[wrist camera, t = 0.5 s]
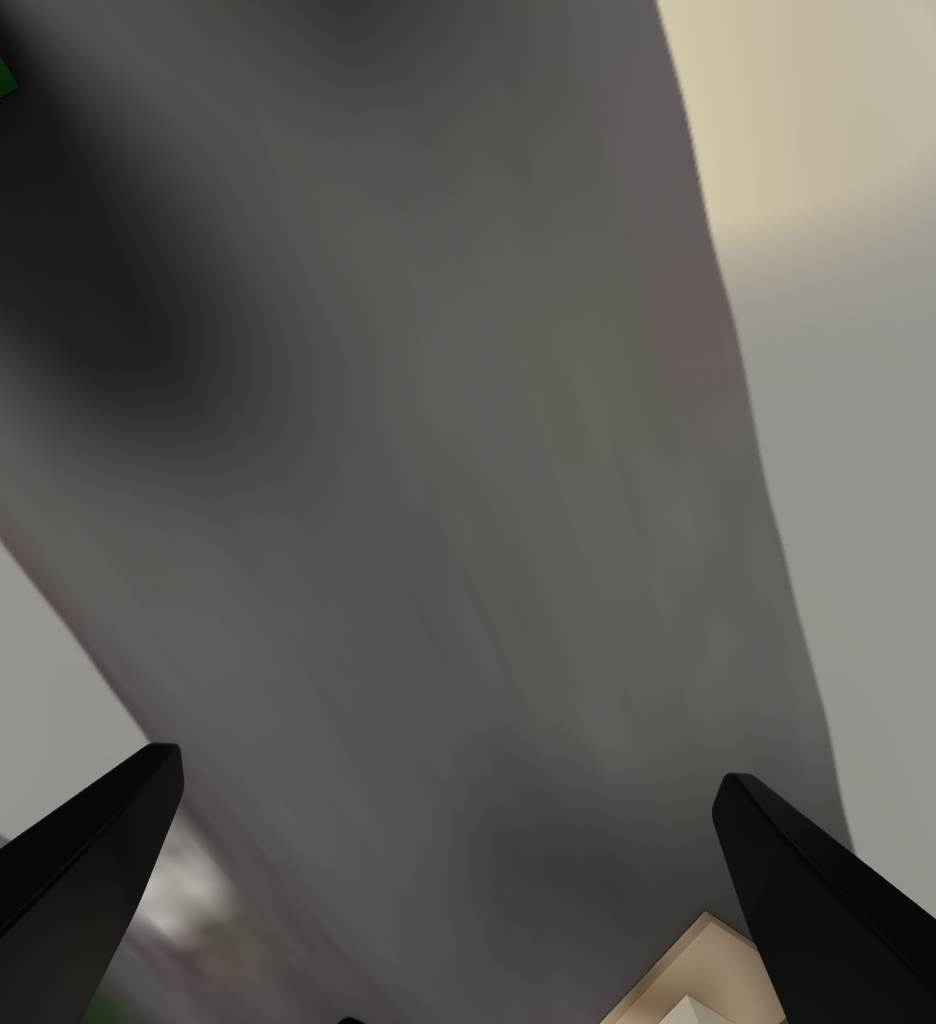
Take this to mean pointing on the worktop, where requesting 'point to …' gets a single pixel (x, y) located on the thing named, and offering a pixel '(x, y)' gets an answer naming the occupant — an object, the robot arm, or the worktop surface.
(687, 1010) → the stub
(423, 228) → the worktop surface
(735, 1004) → the board
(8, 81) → the milk carton
